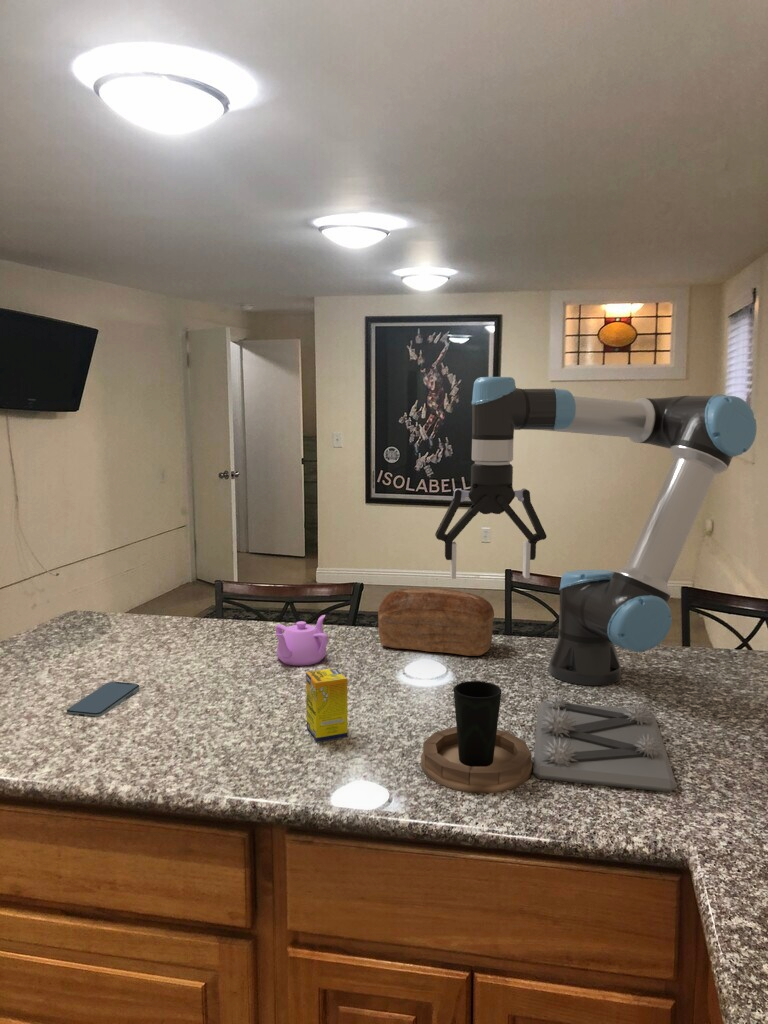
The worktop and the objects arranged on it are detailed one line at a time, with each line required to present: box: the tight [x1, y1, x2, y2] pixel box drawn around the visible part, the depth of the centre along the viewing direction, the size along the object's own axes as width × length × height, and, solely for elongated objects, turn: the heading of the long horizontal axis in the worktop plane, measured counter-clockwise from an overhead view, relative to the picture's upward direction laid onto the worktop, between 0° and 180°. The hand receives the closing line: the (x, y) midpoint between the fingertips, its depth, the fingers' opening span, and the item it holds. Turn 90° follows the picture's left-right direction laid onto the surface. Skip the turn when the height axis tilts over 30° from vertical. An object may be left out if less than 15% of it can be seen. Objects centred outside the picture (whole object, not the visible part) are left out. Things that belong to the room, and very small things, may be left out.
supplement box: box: [305, 667, 349, 743], centre depth 138 cm, size 6×6×11 cm
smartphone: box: [66, 681, 140, 718], centre depth 153 cm, size 8×2×15 cm
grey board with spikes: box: [532, 691, 678, 793], centre depth 133 cm, size 30×22×7 cm
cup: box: [453, 680, 503, 767], centre depth 126 cm, size 8×8×12 cm
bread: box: [377, 587, 495, 657], centre depth 187 cm, size 12×28×14 cm, turn 73°
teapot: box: [274, 614, 329, 667], centre depth 178 cm, size 12×14×9 cm
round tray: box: [420, 726, 533, 794], centre depth 126 cm, size 18×18×3 cm
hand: (489, 577), depth 144 cm, fingers open, 13 cm apart
